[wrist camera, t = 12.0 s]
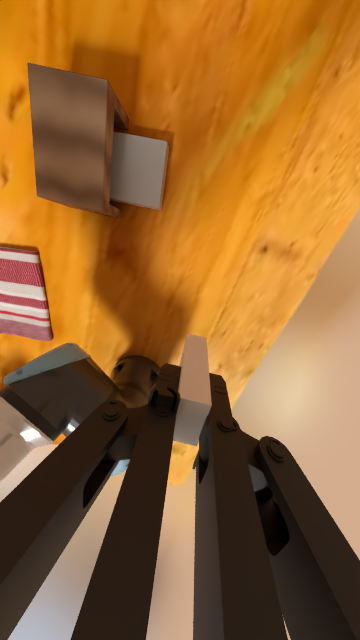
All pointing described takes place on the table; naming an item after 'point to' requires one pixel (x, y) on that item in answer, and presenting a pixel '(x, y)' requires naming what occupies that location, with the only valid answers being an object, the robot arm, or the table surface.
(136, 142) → the tile
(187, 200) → the table surface
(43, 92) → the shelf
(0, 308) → the dish towel
